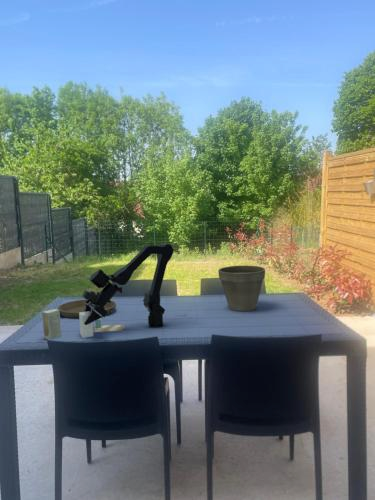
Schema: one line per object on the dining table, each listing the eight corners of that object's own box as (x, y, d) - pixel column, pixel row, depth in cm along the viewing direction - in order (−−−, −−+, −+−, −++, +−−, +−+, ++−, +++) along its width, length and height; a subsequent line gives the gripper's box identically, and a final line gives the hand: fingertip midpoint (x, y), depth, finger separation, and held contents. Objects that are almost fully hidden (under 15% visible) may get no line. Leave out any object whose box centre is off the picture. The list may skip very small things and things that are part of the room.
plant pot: (244, 316, 215) (243, 274, 212) (209, 308, 233) (208, 269, 231) (275, 307, 231) (274, 268, 229) (240, 301, 249) (240, 264, 247)
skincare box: (56, 335, 193) (54, 308, 192) (61, 336, 190) (60, 309, 189) (43, 338, 188) (41, 311, 187) (49, 340, 185) (47, 312, 184)
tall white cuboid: (90, 334, 193) (89, 311, 192) (93, 337, 188) (92, 313, 187) (80, 335, 191) (79, 312, 190) (83, 339, 186) (81, 315, 185)
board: (125, 325, 204) (125, 324, 204) (122, 332, 194) (122, 330, 194) (95, 326, 204) (95, 325, 204) (91, 333, 194) (91, 331, 194)
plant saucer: (120, 316, 223) (120, 308, 222) (58, 323, 213) (58, 314, 213) (112, 304, 252) (112, 296, 252) (57, 309, 243) (57, 301, 242)
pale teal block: (101, 326, 202) (101, 318, 202) (101, 327, 200) (100, 319, 200) (96, 326, 202) (95, 318, 202) (95, 328, 200) (95, 319, 199)
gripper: (88, 280, 197) (64, 307, 193) (98, 286, 180) (73, 316, 176) (105, 295, 201) (83, 321, 197) (117, 302, 184) (93, 331, 181)
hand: (82, 322), depth 188 cm, fingers open, 8 cm apart
